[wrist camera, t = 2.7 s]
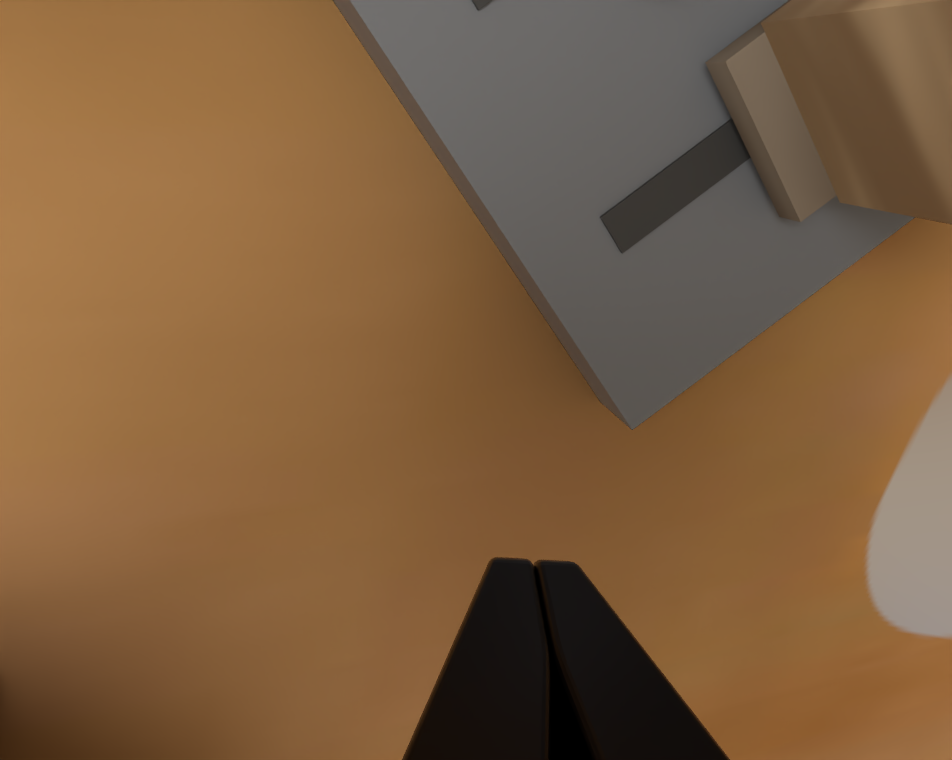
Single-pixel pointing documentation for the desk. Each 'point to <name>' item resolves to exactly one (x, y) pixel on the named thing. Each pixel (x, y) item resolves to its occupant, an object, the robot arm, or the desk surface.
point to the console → (613, 176)
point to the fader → (846, 104)
